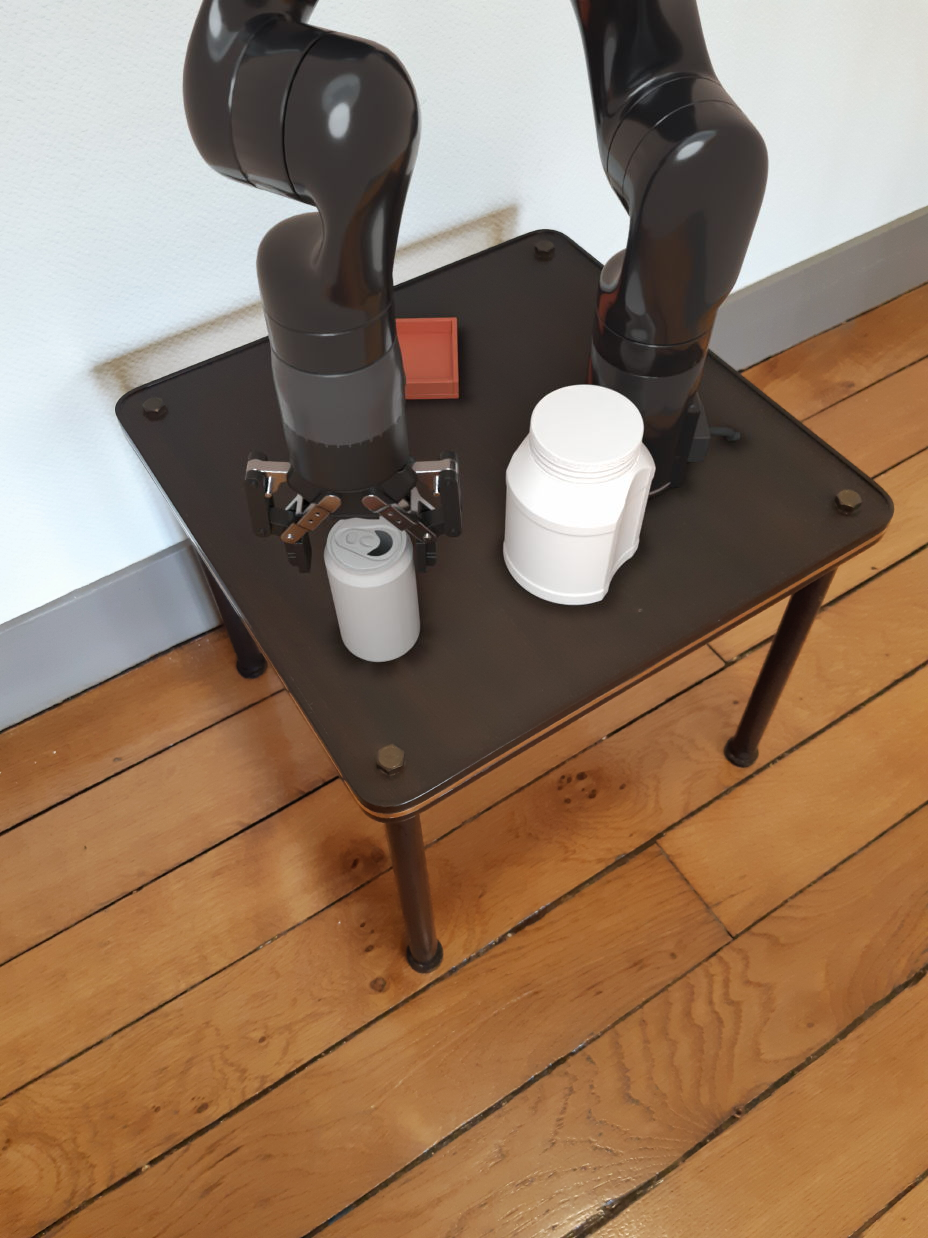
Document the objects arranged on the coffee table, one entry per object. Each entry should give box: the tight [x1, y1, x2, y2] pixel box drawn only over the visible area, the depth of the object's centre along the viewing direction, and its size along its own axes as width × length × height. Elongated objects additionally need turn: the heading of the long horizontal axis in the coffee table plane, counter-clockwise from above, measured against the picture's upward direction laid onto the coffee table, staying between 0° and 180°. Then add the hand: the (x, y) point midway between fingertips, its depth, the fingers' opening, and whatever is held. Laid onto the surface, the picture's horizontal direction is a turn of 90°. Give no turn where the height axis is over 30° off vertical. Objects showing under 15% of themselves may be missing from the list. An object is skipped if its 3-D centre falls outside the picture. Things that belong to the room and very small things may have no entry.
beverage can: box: [323, 516, 421, 663], centre depth 71 cm, size 6×6×12 cm
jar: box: [502, 384, 656, 606], centre depth 75 cm, size 12×10×15 cm
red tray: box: [396, 316, 460, 400], centre depth 93 cm, size 10×10×2 cm
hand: (364, 563), depth 69 cm, fingers open, 8 cm apart
